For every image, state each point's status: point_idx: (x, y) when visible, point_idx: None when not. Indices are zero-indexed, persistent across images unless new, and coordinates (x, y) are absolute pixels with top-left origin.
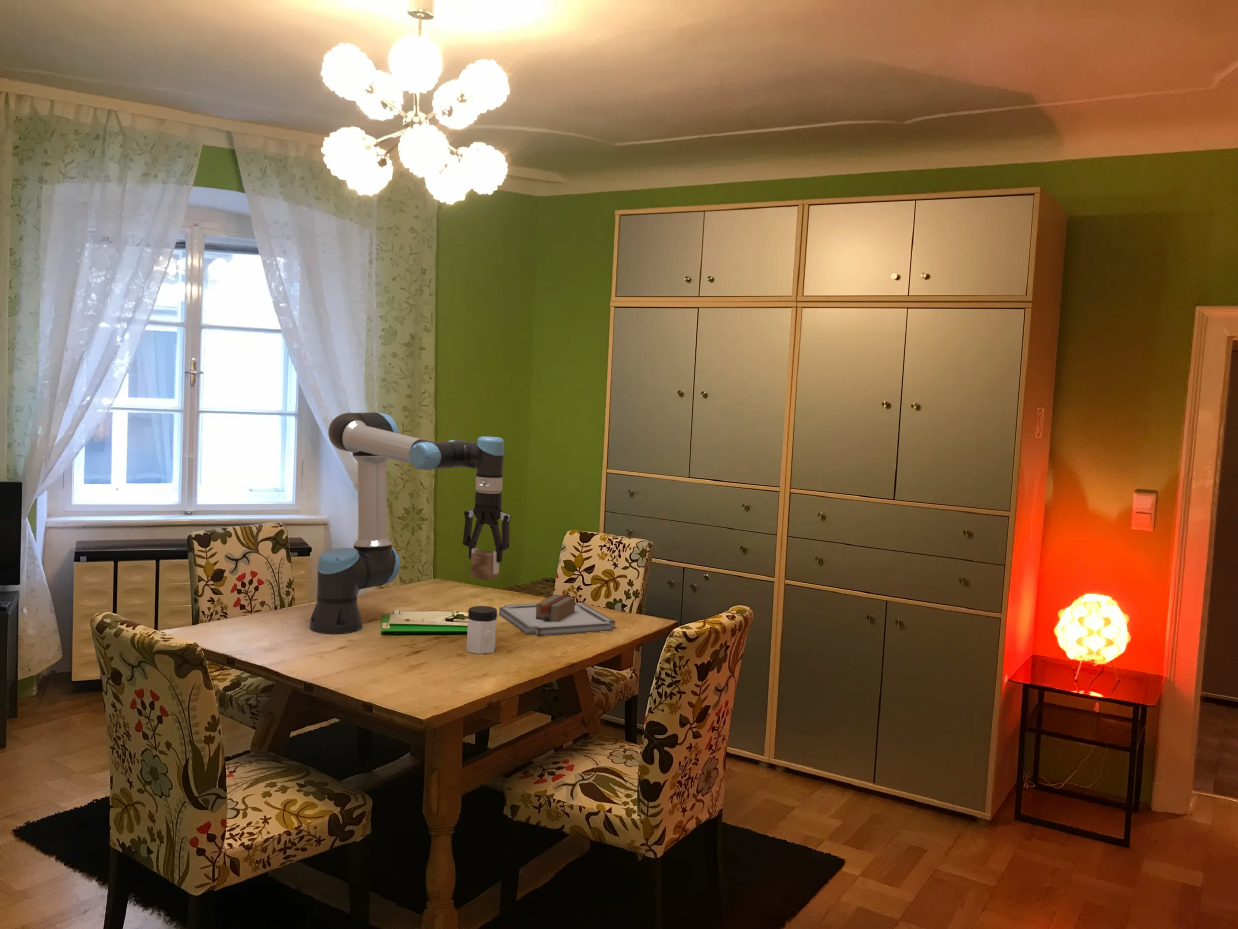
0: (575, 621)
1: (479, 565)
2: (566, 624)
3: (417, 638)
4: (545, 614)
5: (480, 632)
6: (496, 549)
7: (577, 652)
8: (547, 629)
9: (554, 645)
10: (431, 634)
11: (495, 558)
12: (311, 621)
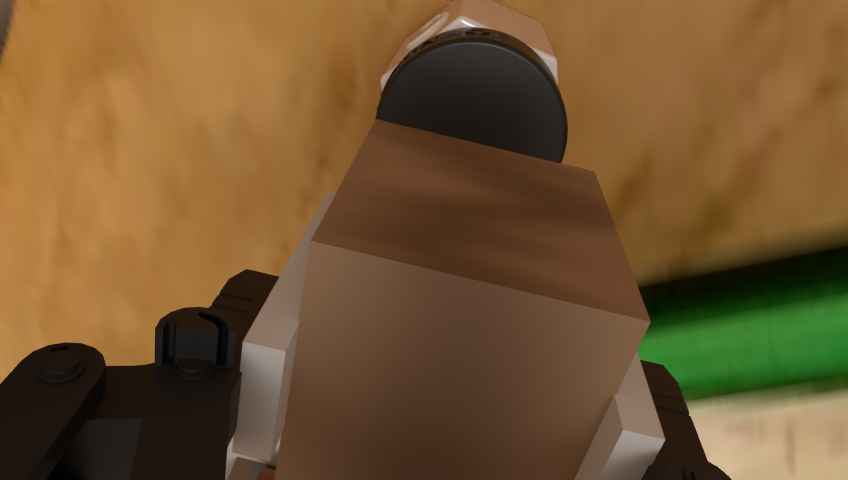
0: None
1: (500, 209)
2: None
3: (811, 189)
4: (270, 471)
5: (464, 7)
6: (224, 369)
7: (57, 148)
8: None
9: (181, 225)
10: (743, 265)
11: (279, 284)
12: None
